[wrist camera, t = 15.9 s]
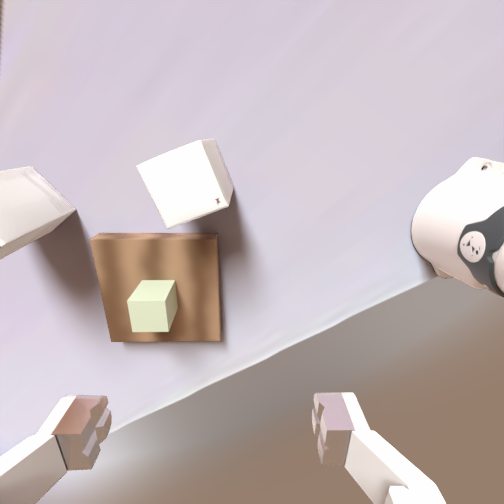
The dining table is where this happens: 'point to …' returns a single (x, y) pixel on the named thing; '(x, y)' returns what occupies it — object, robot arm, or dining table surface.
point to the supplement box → (188, 182)
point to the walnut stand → (160, 268)
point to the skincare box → (28, 208)
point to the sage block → (153, 306)
